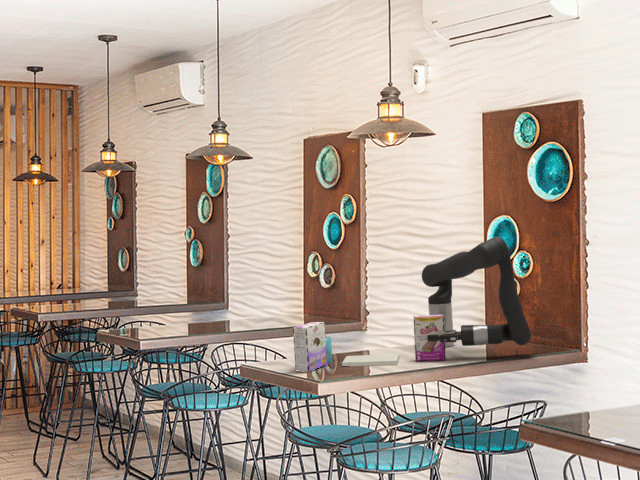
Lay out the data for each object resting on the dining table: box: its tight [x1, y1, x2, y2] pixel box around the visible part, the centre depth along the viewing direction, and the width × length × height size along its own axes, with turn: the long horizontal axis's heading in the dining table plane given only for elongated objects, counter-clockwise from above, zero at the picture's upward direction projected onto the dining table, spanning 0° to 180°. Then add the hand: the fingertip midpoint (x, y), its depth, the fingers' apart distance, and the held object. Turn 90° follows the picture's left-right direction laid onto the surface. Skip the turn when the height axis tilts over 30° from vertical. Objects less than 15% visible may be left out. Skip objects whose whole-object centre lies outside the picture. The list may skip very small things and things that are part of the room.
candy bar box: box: [413, 314, 447, 362], centre depth 303 cm, size 11×5×16 cm, turn 84°
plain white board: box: [341, 353, 400, 367], centre depth 306 cm, size 14×20×2 cm
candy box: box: [292, 321, 328, 371], centre depth 301 cm, size 14×6×16 cm, turn 150°
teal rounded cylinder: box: [326, 336, 333, 363], centre depth 315 cm, size 7×7×9 cm
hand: (427, 337), depth 303 cm, fingers closed on candy bar box, 5 cm apart
